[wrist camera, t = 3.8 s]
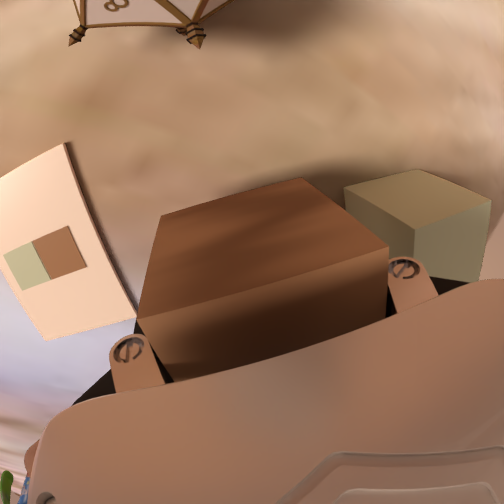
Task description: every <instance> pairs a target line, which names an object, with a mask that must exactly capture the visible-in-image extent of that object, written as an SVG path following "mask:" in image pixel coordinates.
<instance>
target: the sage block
mask: <svg viewBox="0 0 504 504" xmlns="http://www.w3.org/2000/svg"><path fill="white" fill-rule="evenodd" d="M343 188H344V198H345V208H346V212H348V213H349V214H350V215H351V216H353V217H354V218H355V219H356V220H358V221H359V222H360V223H361V224H363V225H364V226H365V227H366V228H368V229H369V230H370V231H371V232H372V233H374V234H375V235H376V236H377V237H378V238H380V239H381V240H382V241H383V242H384V243H386V244H387V245H388V246H389V260H390V259H392V258H395V257H411V258H414V259H416V260H418V261H419V262H421V263H422V265H423V266H424V268H425V269H426V271H427V273H428V275H429V276H432V277H438V278H444V279H451V280H457V281H463V282H470V283H472V282H476V281H478V280H479V276H480V271H481V267H482V262H483V257H484V252H485V246H486V240H487V234H488V227H489V220H490V212H491V203H492V200H490V199H488V198H486V197H484V196H482V195H479V194H477V193H475V192H473V191H471V190H468V189H466V188H464V187H462V186H459V185H457V184H455V183H452V182H450V181H447V180H445V179H443V178H440V177H438V176H435V175H432V174H430V173H427V172H425V171H422V170H419V169H416V170H411V171H407V172H403V173H399V174H394V175H390V176H386V177H382V178H378V179H374V180H370V181H366V182H362V183H358V184H354V185H350V186H346V187H343Z"/></svg>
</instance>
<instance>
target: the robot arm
mask: <svg viewBox="0 0 504 504" xmlns="http://www.w3.org/2000/svg"><path fill="white" fill-rule="evenodd" d="M140 299H141V298H140ZM109 361H110V366H111V369H110V370H109V371H108V372H107V373H106V374H105V375H104V376H103V377H101V378H100V379H99V380H98V381H97V382H96V383H95V384H94V385H93V386H92V387H91V388H89V389H88V390H87V391H86V392H85V393H84V394H83V395H82V396H81V397H80V398H78V399H77V400H76V401H75V402H74V403H73V405H72V406H71V407H69V408H67V409H65V410H63V411H61V412H60V413H58V414H57V415H56V416H54V417H53V418H52V419H51V420H50V421H49V422H48V424H47V425H46V427H45V429H44V431H43V433H42V435H41V438H40V439H39V440H38V441H37V442H36V443H34V444H33V445H32V446H31V447H30V448H29V449H28V450H27V452H26V454H25V458H24V464H25V468H26V470H27V472H28V475H29V477H30V484H29V490H28V500H27V504H504V279H487V280H480V281H476V282H472V283H470V282H463V281H457V280H451V279H444V278H438V277H432V276H429V275H428V273H427V271H426V269H425V268H424V266H423V265H422V263H421V262H419V261H418V260H416V259H414V258H411V257H395V258H392V259H390V260H389V267H388V288H387V302H386V315H385V319H382V320H380V321H377V322H375V323H372V324H370V325H367V326H365V327H362V328H359V329H357V330H354V331H351V332H349V333H346V334H343V335H341V336H338V337H335V338H332V339H329V340H327V341H324V342H321V343H318V344H315V345H312V346H309V347H306V348H303V349H300V350H296V351H293V352H290V353H287V354H284V355H280V356H277V357H274V358H270V359H267V360H263V361H260V362H256V363H252V364H249V365H245V366H241V367H238V368H234V369H230V370H226V371H222V372H218V373H213V374H209V375H205V376H201V377H196V378H192V379H187V380H183V381H178V382H174V380H173V379H172V377H171V376H170V374H169V373H168V371H167V370H166V368H165V367H164V365H163V363H162V362H161V360H160V359H159V357H158V356H157V354H156V352H155V351H154V349H153V348H152V346H151V344H150V343H149V341H148V339H147V338H146V336H145V334H144V332H143V331H142V329H141V327H140V326H139V324H138V322H137V320H136V323H135V328H134V334H131V335H128V336H125V337H123V338H122V339H120V340H119V341H118V342H116V343H115V344H114V346H113V347H112V348H111V351H110V353H109Z"/></svg>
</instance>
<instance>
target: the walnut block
mask: <svg viewBox="0 0 504 504" xmlns="http://www.w3.org/2000/svg"><path fill="white" fill-rule="evenodd" d="M388 267H389V246H388V245H387V244H386V243H384V242H383V241H382V240H381V239H380V238H378V237H377V236H376V235H375V234H374V233H372V232H371V231H370V230H369V229H368V228H366V227H365V226H364V225H363V224H361V223H360V222H359V221H358V220H356V219H355V218H354V217H353V216H351V215H350V214H349V213H348V212H346V211H345V210H344V209H343V208H341V207H340V206H339V205H337V204H336V203H335V202H334V201H332V200H331V199H330V198H328V197H327V196H326V195H324V194H323V193H322V192H320V191H319V190H318V189H316V188H315V187H314V186H312V185H311V184H310V183H308V182H307V181H306V180H304V179H303V178H297V179H292V180H288V181H284V182H280V183H276V184H272V185H268V186H264V187H260V188H257V189H253V190H249V191H245V192H242V193H238V194H234V195H230V196H227V197H223V198H220V199H216V200H213V201H209V202H206V203H202V204H199V205H195V206H192V207H189V208H185V209H182V210H179V211H175V212H172V213H169V214H166V215H162V216H161V218H160V221H159V225H158V229H157V232H156V236H155V240H154V244H153V247H152V251H151V255H150V259H149V264H148V268H147V272H146V276H145V280H144V285H143V289H142V294H141V299H140V303H139V308H138V313H137V318H136V320H137V322H138V324H139V326H140V327H141V329H142V331H143V332H144V334H145V336H146V338H147V339H148V341H149V343H150V344H151V346H152V348H153V349H154V351H155V352H156V354H157V356H158V357H159V359H160V360H161V362H162V363H163V365H164V367H165V368H166V370H167V371H168V373H169V374H170V376H171V377H172V379H173V380H174V382H178V381H183V380H187V379H192V378H196V377H201V376H205V375H209V374H213V373H218V372H222V371H226V370H230V369H234V368H238V367H241V366H245V365H249V364H252V363H256V362H260V361H263V360H267V359H270V358H274V357H277V356H280V355H284V354H287V353H290V352H293V351H296V350H300V349H303V348H306V347H309V346H312V345H315V344H318V343H321V342H324V341H327V340H329V339H332V338H335V337H338V336H341V335H343V334H346V333H349V332H351V331H354V330H357V329H359V328H362V327H365V326H367V325H370V324H372V323H375V322H377V321H380V320H382V319H385V315H386V302H387V288H388Z"/></svg>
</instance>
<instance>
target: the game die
mask: <svg viewBox="0 0 504 504" xmlns="http://www.w3.org/2000/svg"><path fill="white" fill-rule="evenodd" d="M233 1H234V0H73V2H74V5H75V8H76V11H77V15H78V18H79V21H80V26H79V27H78V28H77V29H74V30H73V31H74V32H73V33H72V34H70V35H69V36H70V39H69V46H70V45H73V44H75V43H77V42H81V38H82V37H83V36H85V32H86V30H87V29H88V28H100V27H117V26H163V27H176V28H177V29H176V31H177V32H178V33H179V34H182V35H183V36H184V35H187V36H188V39H187V41H188V42H189V43H190V44H194V45H195V46H196V47H197V48H199V49H200V48H201V45H202V42H203V39H204V38H205V37H206V34H203V30H204V29H203V28H200V26H199V25H198V24H200V23H201V22H202V21H204V20H205V19H207V18H208V17H210V16H211V15H213V14H214V13H216V12H217V11H219V10H220V9H222V8H223V7H225V6H226V5H228V4H230V3H231V2H233Z"/></svg>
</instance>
